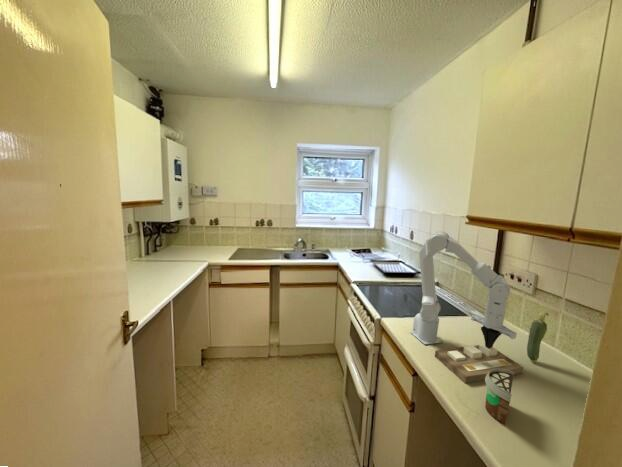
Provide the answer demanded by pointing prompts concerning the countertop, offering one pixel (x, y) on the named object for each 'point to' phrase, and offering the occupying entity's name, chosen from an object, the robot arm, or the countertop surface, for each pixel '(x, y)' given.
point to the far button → (488, 350)
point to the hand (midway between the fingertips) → (488, 346)
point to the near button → (456, 355)
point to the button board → (476, 365)
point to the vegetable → (536, 337)
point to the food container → (498, 393)
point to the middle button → (472, 352)
